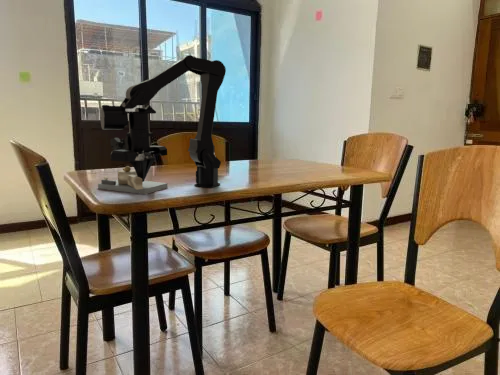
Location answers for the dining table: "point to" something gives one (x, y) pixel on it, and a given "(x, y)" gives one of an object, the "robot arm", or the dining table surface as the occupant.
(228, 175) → the dining table surface
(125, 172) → the cream stepped block
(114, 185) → the level stand
